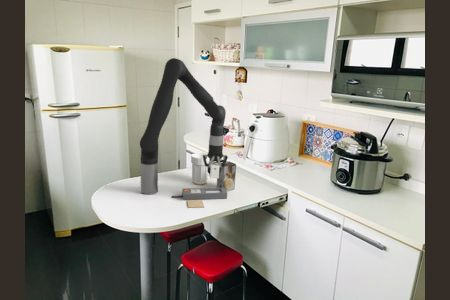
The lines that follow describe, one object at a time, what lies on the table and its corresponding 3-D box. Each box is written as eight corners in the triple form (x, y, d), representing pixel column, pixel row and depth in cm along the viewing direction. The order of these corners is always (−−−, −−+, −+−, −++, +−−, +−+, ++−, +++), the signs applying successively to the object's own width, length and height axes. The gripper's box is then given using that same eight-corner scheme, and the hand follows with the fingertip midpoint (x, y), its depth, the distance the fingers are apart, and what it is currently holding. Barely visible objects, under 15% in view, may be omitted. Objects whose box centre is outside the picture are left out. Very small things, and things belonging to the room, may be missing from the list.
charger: (210, 178, 175) (211, 166, 173) (209, 175, 179) (209, 163, 177) (218, 178, 176) (219, 166, 174) (217, 175, 180) (218, 163, 178)
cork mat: (188, 208, 165) (188, 207, 165) (187, 201, 173) (187, 200, 172) (204, 207, 167) (204, 206, 167) (202, 200, 174) (202, 199, 174)
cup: (206, 186, 194) (207, 159, 189) (188, 184, 196) (188, 157, 191) (210, 180, 204) (211, 154, 200) (193, 178, 206) (194, 152, 202)
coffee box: (228, 186, 197) (229, 161, 193) (234, 189, 192) (236, 163, 188) (216, 189, 191) (217, 163, 187) (222, 192, 186) (224, 166, 182)
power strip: (172, 200, 172) (172, 193, 171) (171, 194, 180) (171, 187, 179) (226, 198, 179) (227, 192, 177) (224, 193, 186) (224, 186, 185)
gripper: (203, 144, 167) (201, 175, 172) (230, 145, 170) (228, 175, 175) (201, 141, 174) (200, 171, 179) (227, 141, 177) (225, 171, 182)
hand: (214, 173), depth 177 cm, fingers closed on charger, 4 cm apart
